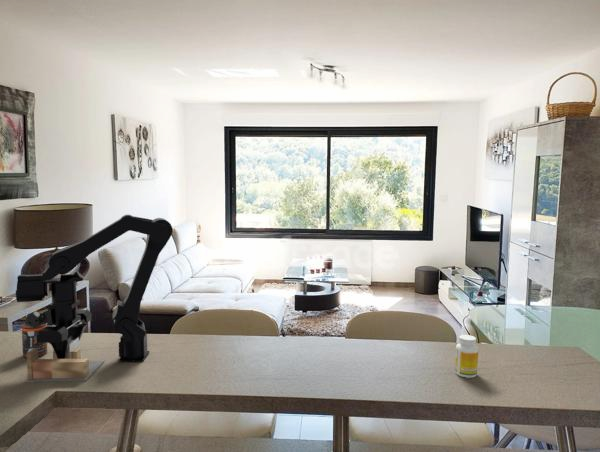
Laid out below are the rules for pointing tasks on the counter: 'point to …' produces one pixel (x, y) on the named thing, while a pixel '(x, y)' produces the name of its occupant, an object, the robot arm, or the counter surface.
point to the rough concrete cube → (70, 348)
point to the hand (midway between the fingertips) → (67, 357)
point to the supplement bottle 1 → (32, 339)
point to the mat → (92, 368)
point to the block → (57, 366)
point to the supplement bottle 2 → (466, 357)
